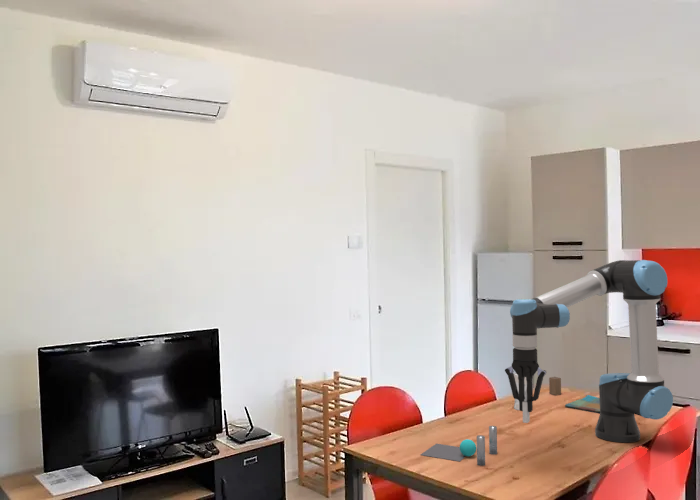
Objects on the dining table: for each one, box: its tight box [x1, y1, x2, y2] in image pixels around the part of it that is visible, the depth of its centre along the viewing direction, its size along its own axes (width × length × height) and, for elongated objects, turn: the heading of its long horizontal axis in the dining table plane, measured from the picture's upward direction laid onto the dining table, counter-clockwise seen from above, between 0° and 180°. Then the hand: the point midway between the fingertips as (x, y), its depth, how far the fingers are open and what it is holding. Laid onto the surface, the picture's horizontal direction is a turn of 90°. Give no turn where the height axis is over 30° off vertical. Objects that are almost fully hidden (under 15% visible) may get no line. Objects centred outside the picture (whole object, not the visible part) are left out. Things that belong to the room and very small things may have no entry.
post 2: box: [488, 425, 498, 456], centre depth 208 cm, size 3×3×9 cm
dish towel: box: [564, 394, 600, 415], centre depth 271 cm, size 17×23×2 cm
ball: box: [459, 438, 477, 457], centre depth 206 cm, size 6×6×6 cm
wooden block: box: [548, 376, 562, 396], centre depth 294 cm, size 4×4×8 cm
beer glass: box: [513, 372, 527, 411], centre depth 268 cm, size 7×7×15 cm
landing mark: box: [419, 443, 467, 463], centre depth 210 cm, size 14×14×1 cm
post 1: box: [476, 434, 486, 467], centre depth 197 cm, size 3×3×9 cm
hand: (526, 421), depth 196 cm, fingers closed
